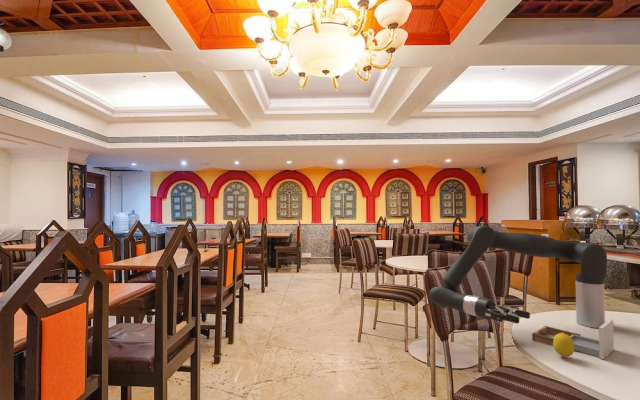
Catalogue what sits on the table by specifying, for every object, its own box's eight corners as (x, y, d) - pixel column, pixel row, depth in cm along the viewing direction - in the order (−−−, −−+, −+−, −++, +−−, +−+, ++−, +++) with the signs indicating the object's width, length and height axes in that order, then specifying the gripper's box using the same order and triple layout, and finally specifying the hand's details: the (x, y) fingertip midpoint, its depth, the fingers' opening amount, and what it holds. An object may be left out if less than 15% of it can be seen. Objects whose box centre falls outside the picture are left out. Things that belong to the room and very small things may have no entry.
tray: (574, 338, 123) (573, 311, 124) (613, 349, 114) (613, 319, 115) (561, 347, 116) (561, 318, 116) (603, 359, 107) (602, 328, 107)
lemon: (578, 362, 105) (577, 336, 106) (558, 360, 107) (557, 335, 107) (568, 354, 111) (568, 330, 111) (550, 353, 112) (549, 329, 112)
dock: (545, 332, 131) (545, 325, 131) (580, 341, 122) (580, 334, 122) (532, 340, 123) (532, 333, 123) (568, 350, 114) (568, 343, 114)
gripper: (469, 299, 126) (515, 310, 114) (487, 294, 135) (532, 303, 122) (468, 320, 126) (515, 333, 113) (487, 313, 135) (532, 324, 122)
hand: (524, 318), depth 118 cm, fingers open, 8 cm apart
